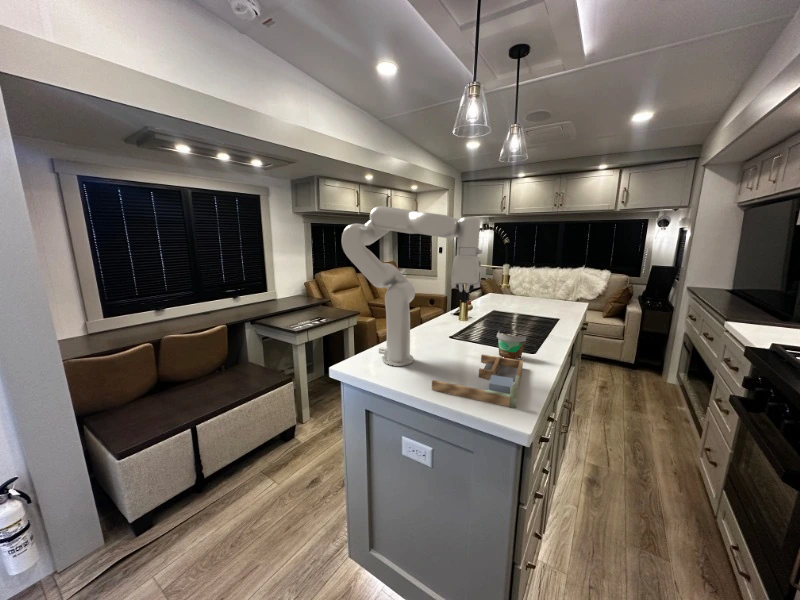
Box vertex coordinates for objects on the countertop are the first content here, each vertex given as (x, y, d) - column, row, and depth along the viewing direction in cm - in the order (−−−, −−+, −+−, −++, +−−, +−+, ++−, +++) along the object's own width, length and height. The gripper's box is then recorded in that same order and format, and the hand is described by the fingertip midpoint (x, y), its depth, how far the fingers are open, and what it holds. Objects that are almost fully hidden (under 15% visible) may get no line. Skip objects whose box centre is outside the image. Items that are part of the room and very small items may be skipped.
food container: (490, 355, 132) (491, 333, 130) (496, 351, 137) (498, 330, 135) (518, 362, 124) (520, 339, 122) (524, 358, 128) (526, 335, 126)
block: (488, 395, 98) (489, 383, 97) (490, 385, 104) (491, 374, 104) (511, 399, 95) (512, 387, 95) (512, 389, 102) (513, 378, 101)
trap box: (431, 390, 100) (431, 373, 99) (457, 357, 130) (458, 343, 128) (515, 408, 89) (517, 389, 88) (523, 368, 119) (524, 353, 117)
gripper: (490, 253, 111) (486, 302, 114) (450, 251, 117) (448, 298, 121) (485, 253, 104) (481, 306, 107) (444, 252, 111) (441, 301, 114)
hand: (464, 302), depth 114 cm, fingers closed
